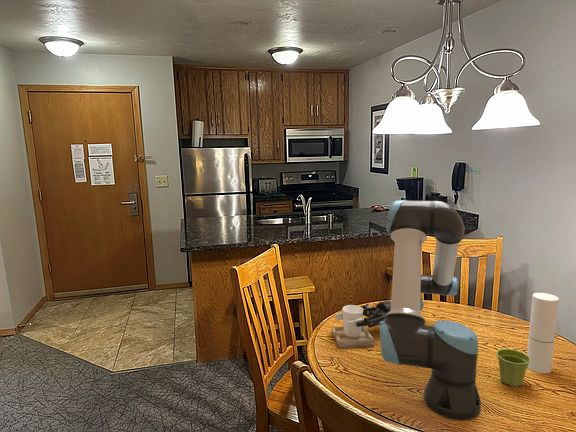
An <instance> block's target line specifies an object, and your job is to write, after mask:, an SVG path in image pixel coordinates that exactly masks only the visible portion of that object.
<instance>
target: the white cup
mask: <svg viewBox="0 0 576 432" xmlns="http://www.w3.org/2000/svg"><path fill="white" fill-rule="evenodd" d="M360 306H361V305H355V304H348V305H344V306H343V307H342V309H341V310H342V311H341V312H343V320H342V325H343V327H344V334H345V335H346V336H348V337H358V336H360V335H361V329H362V326H360V327H356V328H352V329H348V321H353V320H357V319H361V318H362V319H363V320H364V316H363V308H362V307H360Z"/></svg>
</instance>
